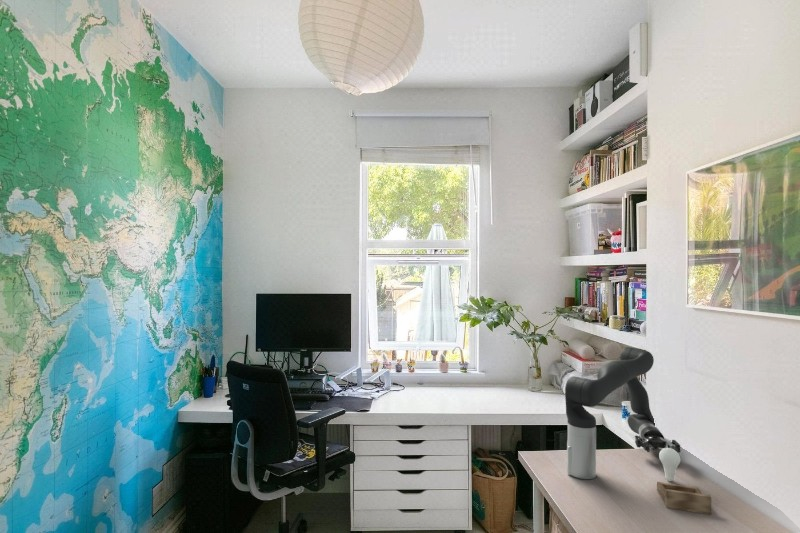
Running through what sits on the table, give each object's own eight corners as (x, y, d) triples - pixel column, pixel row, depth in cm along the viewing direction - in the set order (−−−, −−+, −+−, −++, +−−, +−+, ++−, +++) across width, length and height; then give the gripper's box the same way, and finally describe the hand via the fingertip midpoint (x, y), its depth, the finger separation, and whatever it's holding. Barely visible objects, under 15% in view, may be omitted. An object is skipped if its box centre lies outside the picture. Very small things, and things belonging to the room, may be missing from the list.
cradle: (666, 507, 130) (666, 490, 130) (656, 489, 140) (656, 474, 141) (711, 514, 126) (711, 497, 126) (697, 495, 137) (697, 479, 137)
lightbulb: (683, 486, 143) (683, 452, 143) (663, 484, 144) (663, 451, 144) (675, 477, 149) (675, 445, 149) (656, 476, 150) (656, 444, 150)
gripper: (630, 423, 173) (639, 438, 158) (671, 428, 169) (684, 443, 154) (630, 442, 173) (639, 458, 158) (671, 447, 169) (684, 464, 153)
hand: (662, 451), depth 156 cm, fingers open, 8 cm apart
